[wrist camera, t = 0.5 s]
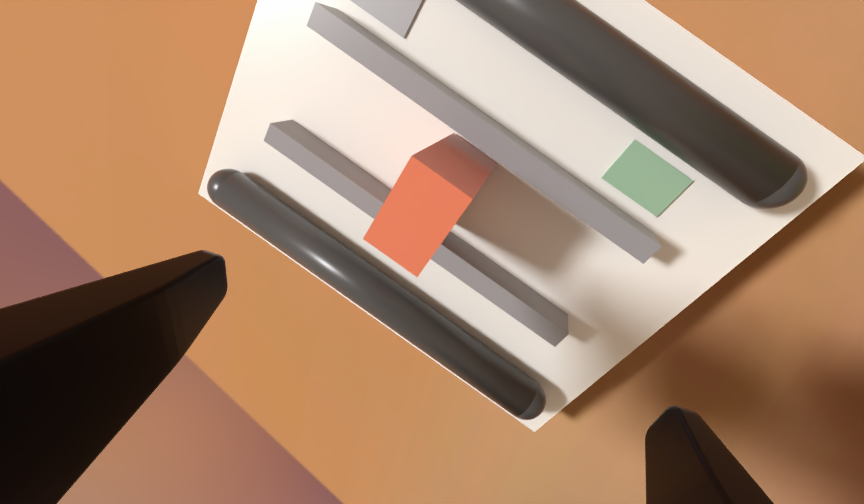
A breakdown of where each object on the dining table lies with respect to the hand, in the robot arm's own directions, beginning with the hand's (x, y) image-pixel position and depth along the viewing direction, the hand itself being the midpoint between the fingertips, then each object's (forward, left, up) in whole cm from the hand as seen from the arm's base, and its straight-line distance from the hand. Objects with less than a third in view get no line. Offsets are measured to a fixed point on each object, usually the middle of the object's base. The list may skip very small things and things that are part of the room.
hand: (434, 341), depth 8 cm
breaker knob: (+2, 0, -9) cm, 9 cm away
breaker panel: (+2, 0, -12) cm, 12 cm away
